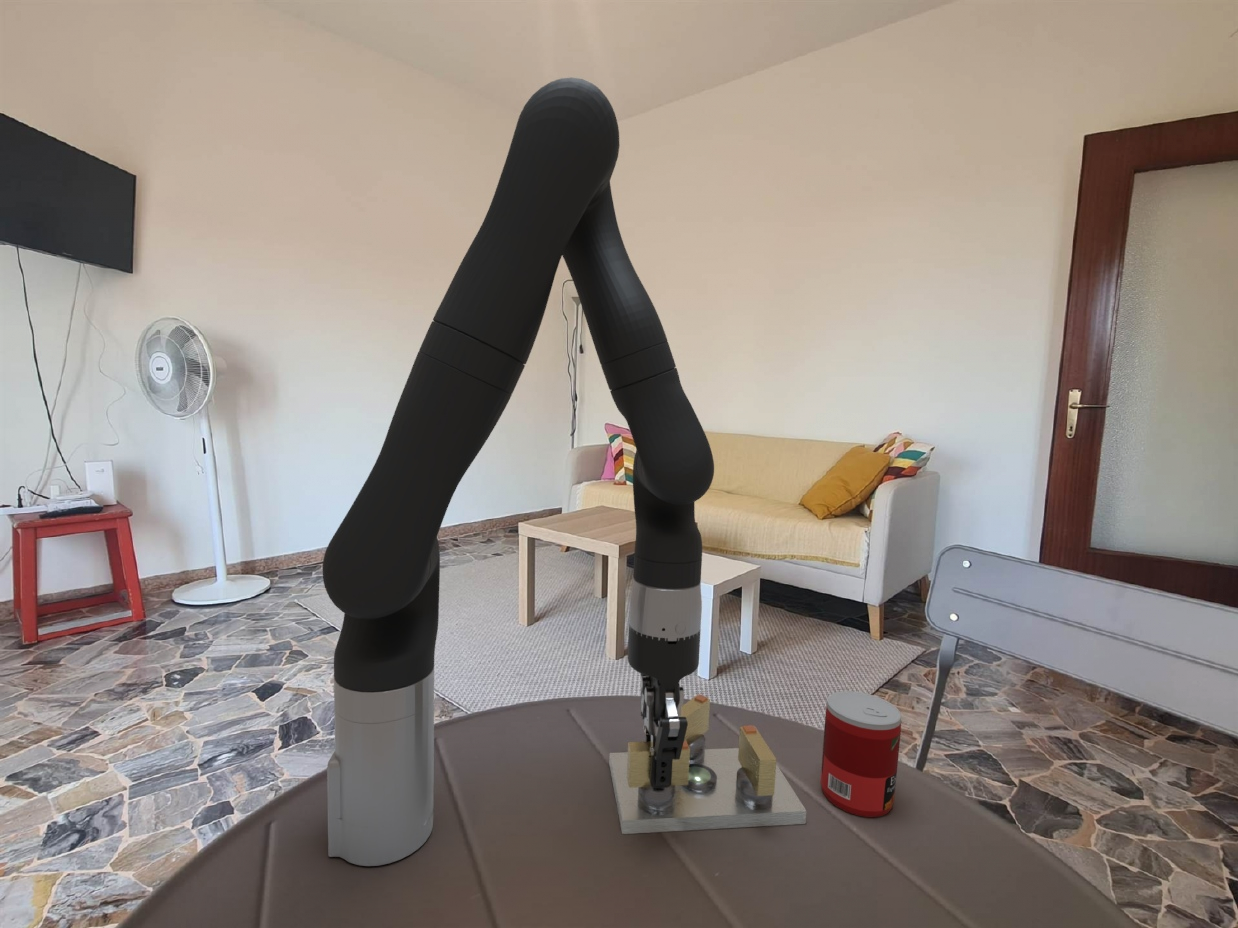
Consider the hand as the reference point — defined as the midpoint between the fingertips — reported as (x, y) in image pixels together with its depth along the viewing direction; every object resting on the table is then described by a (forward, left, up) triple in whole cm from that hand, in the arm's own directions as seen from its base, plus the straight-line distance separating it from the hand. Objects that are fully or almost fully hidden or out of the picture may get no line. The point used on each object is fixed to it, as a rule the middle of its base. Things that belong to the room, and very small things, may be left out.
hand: (657, 775), depth 65 cm
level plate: (+6, +4, -5) cm, 8 cm away
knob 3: (+11, 0, -3) cm, 11 cm away
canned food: (+24, +2, -5) cm, 25 cm away
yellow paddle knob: (+5, +8, -3) cm, 10 cm away
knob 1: (0, 0, -3) cm, 3 cm away
